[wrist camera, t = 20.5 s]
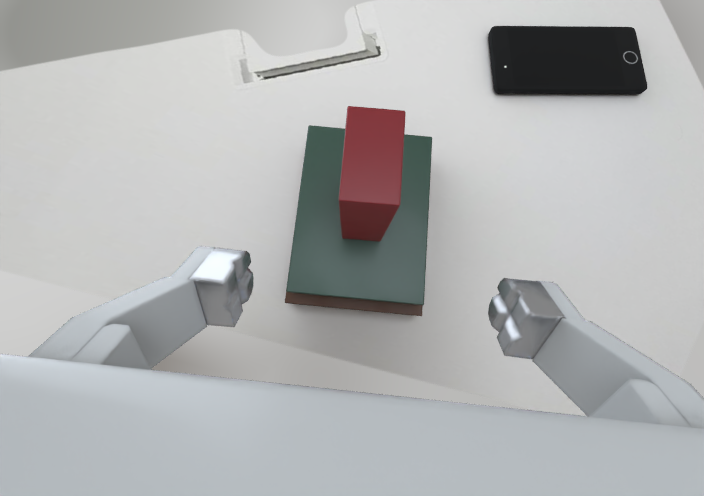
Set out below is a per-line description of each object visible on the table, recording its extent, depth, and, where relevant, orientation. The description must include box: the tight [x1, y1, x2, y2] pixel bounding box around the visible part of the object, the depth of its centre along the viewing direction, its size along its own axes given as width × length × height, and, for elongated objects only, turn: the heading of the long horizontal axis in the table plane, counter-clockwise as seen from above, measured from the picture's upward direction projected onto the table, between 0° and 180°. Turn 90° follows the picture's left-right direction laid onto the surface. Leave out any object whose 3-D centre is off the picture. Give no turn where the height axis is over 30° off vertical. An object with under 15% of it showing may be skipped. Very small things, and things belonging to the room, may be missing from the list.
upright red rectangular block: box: [339, 106, 405, 242], centre depth 22 cm, size 6×4×10 cm, turn 175°
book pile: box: [285, 125, 432, 316], centre depth 30 cm, size 18×13×6 cm
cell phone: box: [488, 26, 647, 94], centre depth 36 cm, size 9×18×1 cm, turn 90°
